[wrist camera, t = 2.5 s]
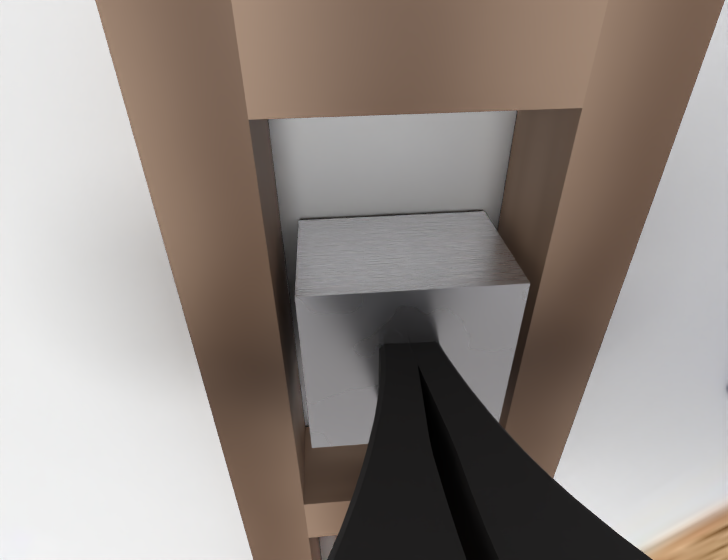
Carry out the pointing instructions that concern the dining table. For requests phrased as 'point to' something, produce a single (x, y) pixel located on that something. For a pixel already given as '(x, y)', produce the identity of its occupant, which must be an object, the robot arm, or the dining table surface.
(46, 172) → the dining table surface
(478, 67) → the brown ladder-shaped frame
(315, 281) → the silver metal block
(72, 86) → the dining table surface
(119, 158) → the dining table surface
